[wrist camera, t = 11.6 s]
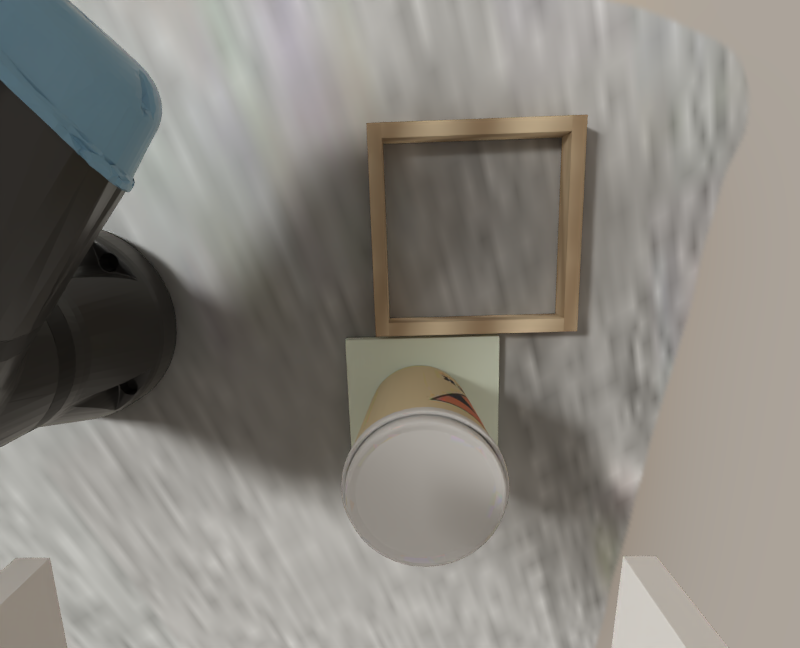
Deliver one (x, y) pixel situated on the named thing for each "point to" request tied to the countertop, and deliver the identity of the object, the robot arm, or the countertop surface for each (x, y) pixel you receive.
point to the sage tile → (453, 354)
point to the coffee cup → (424, 472)
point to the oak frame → (568, 230)
